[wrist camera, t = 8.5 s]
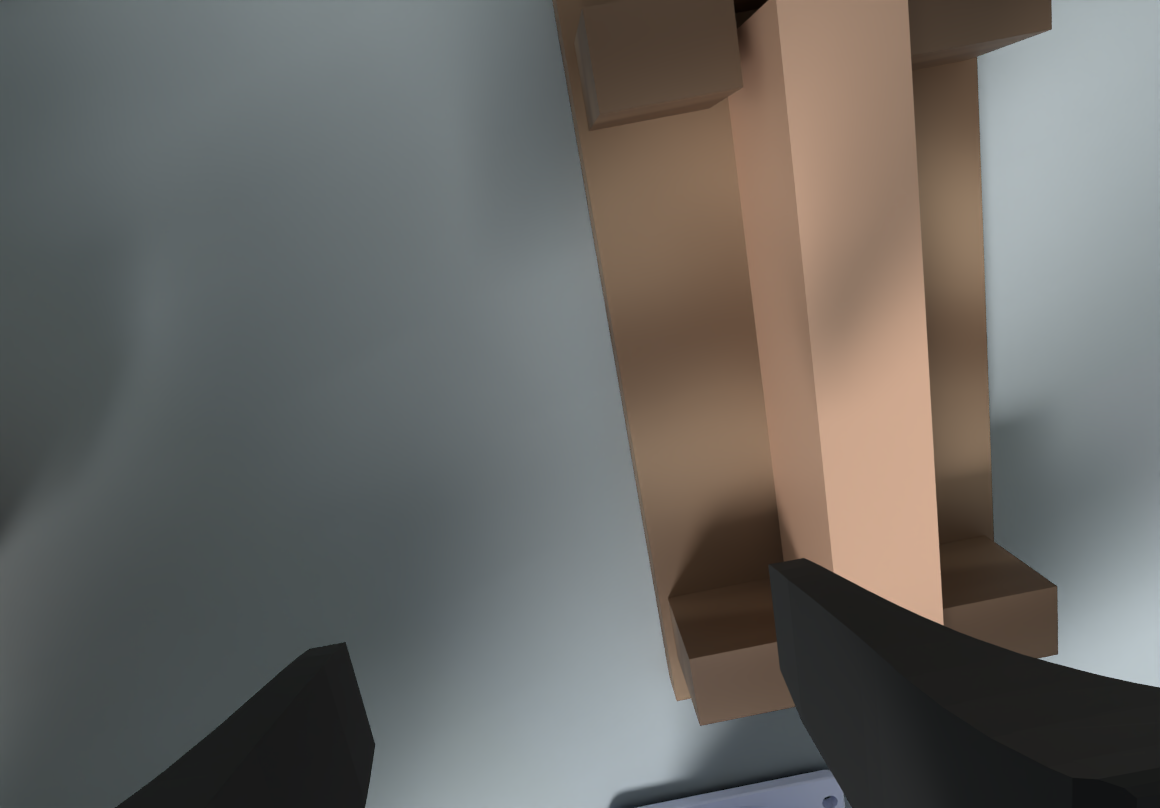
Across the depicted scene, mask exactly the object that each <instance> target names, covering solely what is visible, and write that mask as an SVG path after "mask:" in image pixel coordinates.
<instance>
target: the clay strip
mask: <svg viewBox="0 0 1160 808" xmlns="http://www.w3.org/2000/svg"><path fill="white" fill-rule="evenodd" d="M737 36H738V45H739V54H740V62H741V71H742V80H743V88H741V89H740V90H738V91H736V92H735V93H733V94H732V95H730V96H728V102H729V110H730V119H731V127H732V135H733V144H734V152H735V160H736V169H737V177H738V185H739V194H740V202H741V210H742V219H743V227H744V235H745V244H746V252H747V260H748V268H749V277H750V285H751V293H752V302H753V310H754V318H755V327H756V335H757V343H758V352H759V360H760V368H761V377H762V385H763V393H764V402H765V410H766V418H767V427H768V435H769V443H770V452H771V460H772V468H773V477H774V485H775V493H776V502H777V510H778V518H779V527H780V535H781V543H782V552H783V560H784V561H790V560H795V559H801V558H805V559H808V560H810V561H812V562H814V563H816V564H818V565H820V566H822V567H824V568H826V569H828V570H830V571H832V572H834V573H836V574H838V575H839V576H841V577H843V578H845V579H847V580H849V581H851V582H853V583H855V584H857V585H859V586H860V587H862V588H864V589H866V590H868V591H870V592H872V593H874V594H876V595H878V596H880V597H882V598H884V599H886V600H888V601H890V602H892V603H894V604H896V605H899V606H901V607H903V608H905V609H907V610H909V611H911V612H914V613H916V614H918V615H920V616H923V617H925V618H927V619H930V620H932V621H934V622H937V623H939V624H941V625H944V623H943V605H942V588H941V570H940V553H939V536H938V518H937V501H936V483H935V466H934V448H933V431H932V413H931V396H930V378H929V361H928V344H927V326H926V309H925V291H924V274H923V256H922V239H921V221H920V204H919V186H918V169H917V152H916V134H915V117H914V99H913V82H912V64H911V47H910V29H909V12H908V0H768V1H767V2H766V3H765V4H764V5H763V6H762V7H761V8H759V9H758V10H757V11H756V12H755V13H754V14H753V15H752V16H751V17H750V18H749V19H748V20H747V21H745V22H744V23H743V24H742V25H741V26H740V27H739V28H738V29H737Z"/></svg>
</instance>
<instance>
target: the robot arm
mask: <svg viewBox="0 0 1160 808" xmlns="http://www.w3.org/2000/svg"><path fill="white" fill-rule="evenodd" d="M768 566H769V575H770V584H771V593H772V602H773V611H774V620H775V629H776V638H777V647H778V656H779V665H780V671H781V673H782V675H783V678H784V680H785V683H786V685H787V687H788V690H789V692H790V695H791V697H792V699H793V702H794V704H795V706H796V709H797V711H798V713H799V715H800V718H801V720H802V722H803V724H804V726H805V728H806V729H807V731H808V733H809V735H810V736H811V738H812V740H813V742H814V743H815V745H816V747H817V748H818V750H819V752H820V754H821V755H822V757H823V759H824V761H825V762H826V764H827V766H828V767H829V769H830V770H820V771H815V772H810V773H806V774H801V775H796V776H791V777H786V778H781V779H776V780H771V781H766V782H761V783H756V784H751V785H746V786H741V787H736V788H731V789H726V790H721V791H716V792H711V793H706V794H701V795H696V796H691V797H686V798H681V799H676V800H671V801H666V802H661V803H656V804H651V805H646V806H641V807H636V808H845V803H844V795H845V796H846V798H847V800H848V801H849V803H850V805H851V806H852V808H1160V688H1159V687H1153V686H1148V685H1143V684H1137V683H1133V682H1128V681H1123V680H1119V679H1114V678H1110V677H1105V676H1101V675H1097V674H1093V673H1089V672H1085V671H1081V670H1077V669H1073V668H1070V667H1066V666H1062V665H1058V664H1054V663H1051V662H1047V661H1043V660H1040V659H1037V658H1033V657H1030V656H1027V655H1023V654H1020V653H1017V652H1014V651H1011V650H1008V649H1005V648H1002V647H1000V646H997V645H994V644H991V643H988V642H985V641H982V640H979V639H976V638H974V637H971V636H968V635H966V634H963V633H960V632H958V631H955V630H953V629H951V628H948V627H946V626H944V625H941V624H939V623H937V622H934V621H932V620H930V619H927V618H925V617H923V616H920V615H918V614H916V613H914V612H911V611H909V610H907V609H905V608H903V607H901V606H899V605H896V604H894V603H892V602H890V601H888V600H886V599H884V598H882V597H880V596H878V595H876V594H874V593H872V592H870V591H868V590H866V589H864V588H862V587H860V586H859V585H857V584H855V583H853V582H851V581H849V580H847V579H845V578H843V577H841V576H839V575H838V574H836V573H834V572H832V571H830V570H828V569H826V568H824V567H822V566H820V565H818V564H816V563H814V562H812V561H810V560H808V559H805V558H801V559H795V560H790V561H784V562H779V563H773V564H768ZM374 749H375V743H374V739H373V736H372V732H371V729H370V725H369V722H368V718H367V715H366V711H365V708H364V704H363V701H362V697H361V694H360V691H359V687H358V684H357V680H356V677H355V673H354V670H353V666H352V663H351V659H350V656H349V652H348V649H347V645H346V642H344V643H339V644H333V645H328V646H323V647H317V648H312V649H309V650H307V651H306V652H305V653H303V654H302V655H300V656H299V657H298V658H297V659H295V660H294V661H293V662H292V663H291V664H289V665H288V666H287V667H286V668H285V669H283V670H282V671H281V672H280V673H279V674H278V675H277V676H275V677H274V678H273V679H272V680H271V681H270V682H269V683H267V684H266V685H265V686H264V687H263V688H262V689H261V690H260V691H258V692H257V693H256V694H255V695H254V696H253V697H252V698H251V699H249V700H248V701H247V702H246V703H245V704H244V705H243V706H241V707H240V708H239V709H238V710H237V711H236V712H235V713H233V714H232V715H231V716H230V717H229V718H228V719H227V720H226V721H224V722H223V723H222V724H221V725H220V726H219V727H217V728H216V729H215V730H214V731H213V732H211V733H210V734H209V735H208V736H207V737H205V738H204V739H203V740H202V741H200V742H199V743H198V744H197V745H196V746H194V747H193V748H192V749H191V750H189V751H188V752H187V753H186V754H185V755H183V756H182V757H181V758H180V759H179V760H177V761H176V762H175V763H174V764H172V765H171V766H170V767H169V768H168V769H166V770H165V771H164V772H163V773H161V774H160V775H159V776H157V777H156V778H155V779H154V780H152V781H151V782H150V783H148V784H147V785H146V786H144V787H143V788H142V789H140V790H139V791H138V792H136V793H135V794H134V795H132V796H131V797H129V798H128V799H127V800H125V801H124V802H122V803H121V804H119V805H118V806H117V807H115V808H365V804H366V799H367V793H368V788H369V782H370V776H371V769H372V763H373V756H374ZM828 796H831V797H830V798H828V799H826V800H824V798H825V797H828Z"/></svg>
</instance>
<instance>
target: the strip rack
mask: <svg viewBox="0 0 1160 808" xmlns="http://www.w3.org/2000/svg"><path fill="white" fill-rule="evenodd" d="M767 1H768V0H552V2H553V8H554V13H555V19H556V25H557V31H558V36H559V42H560V48H561V54H562V59H563V65H564V71H565V77H566V82H567V88H568V94H569V100H570V106H571V111H572V117H573V123H574V129H575V134H576V140H577V146H578V152H579V157H580V163H581V169H582V175H583V180H584V186H585V192H586V198H587V203H588V209H589V215H590V221H591V227H592V232H593V238H594V244H595V250H596V255H597V261H598V267H599V273H600V278H601V284H602V290H603V296H604V301H605V307H606V313H607V319H608V325H609V330H610V336H611V342H612V348H613V353H614V359H615V365H616V371H617V376H618V382H619V388H620V394H621V399H622V405H623V411H624V417H625V422H626V428H627V434H628V440H629V446H630V451H631V457H632V463H633V469H634V474H635V480H636V486H637V492H638V497H639V503H640V509H641V515H642V520H643V526H644V532H645V538H646V543H647V549H648V555H649V561H650V567H651V572H652V578H653V584H654V590H655V595H656V601H657V607H658V613H659V618H660V624H661V630H662V636H663V641H664V647H665V653H666V659H667V664H668V670H669V676H670V680H671V683H672V687H673V690H674V693H675V697H676V700H677V701H680V700H685V699H690V698H691V699H692V702H693V705H694V709H695V712H696V715H697V718H698V721H699V724H700V726H702V725H707V724H712V723H717V722H722V721H727V720H732V719H737V718H742V717H747V716H752V715H757V714H762V713H767V712H772V711H777V710H782V709H787V708H792V707H796V706H795V704H794V702H793V699H792V697H791V695H790V692H789V690H788V687H787V685H786V683H785V680H784V678H783V675H782V673H781V671H780V665H779V656H778V647H777V638H776V629H775V620H774V611H773V602H772V593H771V584H770V575H769V566H768V564H773V563H779V562H784V560H783V552H782V543H781V535H780V527H779V518H778V510H777V502H776V493H775V485H774V477H773V468H772V460H771V452H770V443H769V435H768V427H767V418H766V410H765V402H764V393H763V385H762V377H761V368H760V360H759V352H758V343H757V335H756V327H755V318H754V310H753V302H752V293H751V285H750V277H749V268H748V260H747V252H746V244H745V235H744V227H743V219H742V210H741V202H740V194H739V185H738V177H737V169H736V160H735V152H734V144H733V135H732V127H731V119H730V110H729V102H728V96H730V95H732V94H733V93H735V92H736V91H738V90H740V89H741V88H743V80H742V71H741V62H740V54H739V45H738V36H737V29H738V28H739V27H740V26H741V25H742V24H743V23H744V22H745V21H747V20H748V19H749V18H750V17H751V16H752V15H753V14H754V13H755V12H756V11H757V10H758V9H759V8H761V7H762V6H763V5H764V4H765V3H766V2H767ZM908 12H909V29H910V47H911V64H912V82H913V99H914V117H915V134H916V152H917V169H918V186H919V204H920V221H921V239H922V256H923V274H924V291H925V309H926V326H927V344H928V361H929V378H930V396H931V413H932V431H933V448H934V466H935V483H936V501H937V518H938V536H939V553H940V570H941V588H942V605H943V623H944V626H946V627H948V628H951V629H953V630H955V631H958V632H960V633H963V634H966V635H968V636H971V637H974V638H976V639H979V640H982V641H985V642H988V643H991V644H994V645H997V646H1000V647H1002V648H1005V649H1008V650H1011V651H1014V652H1017V653H1020V654H1023V655H1027V656H1030V657H1033V658H1042V657H1047V656H1052V655H1057V654H1058V612H1057V586H1056V585H1055V584H1053V583H1052V582H1050V581H1049V580H1048V579H1046V578H1045V577H1043V576H1042V575H1040V574H1039V573H1038V572H1036V571H1035V570H1033V569H1032V568H1031V567H1029V566H1028V565H1026V564H1025V563H1023V562H1022V561H1021V560H1019V559H1018V558H1016V557H1015V556H1013V555H1012V554H1011V553H1009V552H1008V551H1006V550H1005V549H1004V548H1002V547H1001V546H999V545H998V544H996V543H995V542H994V531H993V503H992V474H991V446H990V417H989V389H988V360H987V332H986V303H985V275H984V246H983V218H982V189H981V161H980V132H979V104H978V75H977V56H980V55H983V54H985V53H988V52H991V51H994V50H996V49H999V48H1002V47H1005V46H1007V45H1010V44H1013V43H1015V42H1018V41H1021V40H1024V39H1026V38H1029V37H1032V36H1035V35H1037V34H1040V33H1043V32H1046V31H1048V30H1051V29H1052V14H1051V0H908Z"/></svg>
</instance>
